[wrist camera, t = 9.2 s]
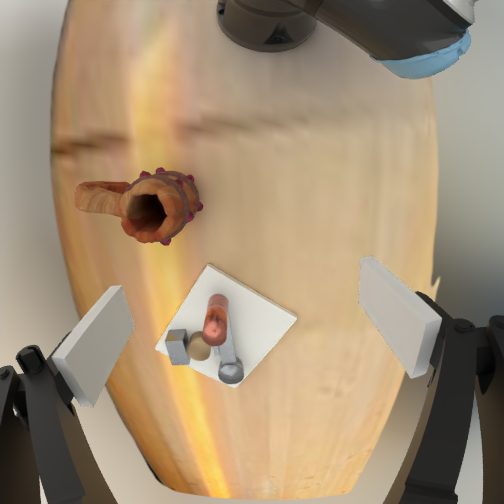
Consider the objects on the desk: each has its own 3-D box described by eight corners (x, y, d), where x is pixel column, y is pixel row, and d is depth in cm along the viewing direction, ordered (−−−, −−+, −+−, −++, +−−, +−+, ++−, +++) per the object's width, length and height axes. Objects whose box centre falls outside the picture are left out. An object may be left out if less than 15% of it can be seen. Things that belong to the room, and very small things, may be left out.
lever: (245, 375, 48) (246, 418, 38) (220, 377, 47) (218, 419, 38) (232, 287, 42) (230, 324, 32) (203, 290, 42) (193, 327, 32)
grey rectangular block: (168, 329, 45) (164, 341, 42) (185, 328, 45) (182, 340, 42) (175, 352, 47) (172, 365, 43) (191, 352, 47) (189, 364, 43)
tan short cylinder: (197, 327, 45) (194, 339, 42) (215, 337, 46) (214, 350, 42) (187, 341, 46) (184, 354, 42) (205, 351, 47) (203, 364, 43)
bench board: (208, 262, 43) (207, 267, 41) (296, 314, 47) (298, 320, 45) (156, 344, 47) (153, 351, 45) (235, 384, 51) (235, 390, 49)
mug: (212, 178, 39) (198, 185, 25) (198, 231, 42) (178, 267, 27) (121, 156, 37) (67, 156, 23) (110, 208, 40) (57, 231, 25)
